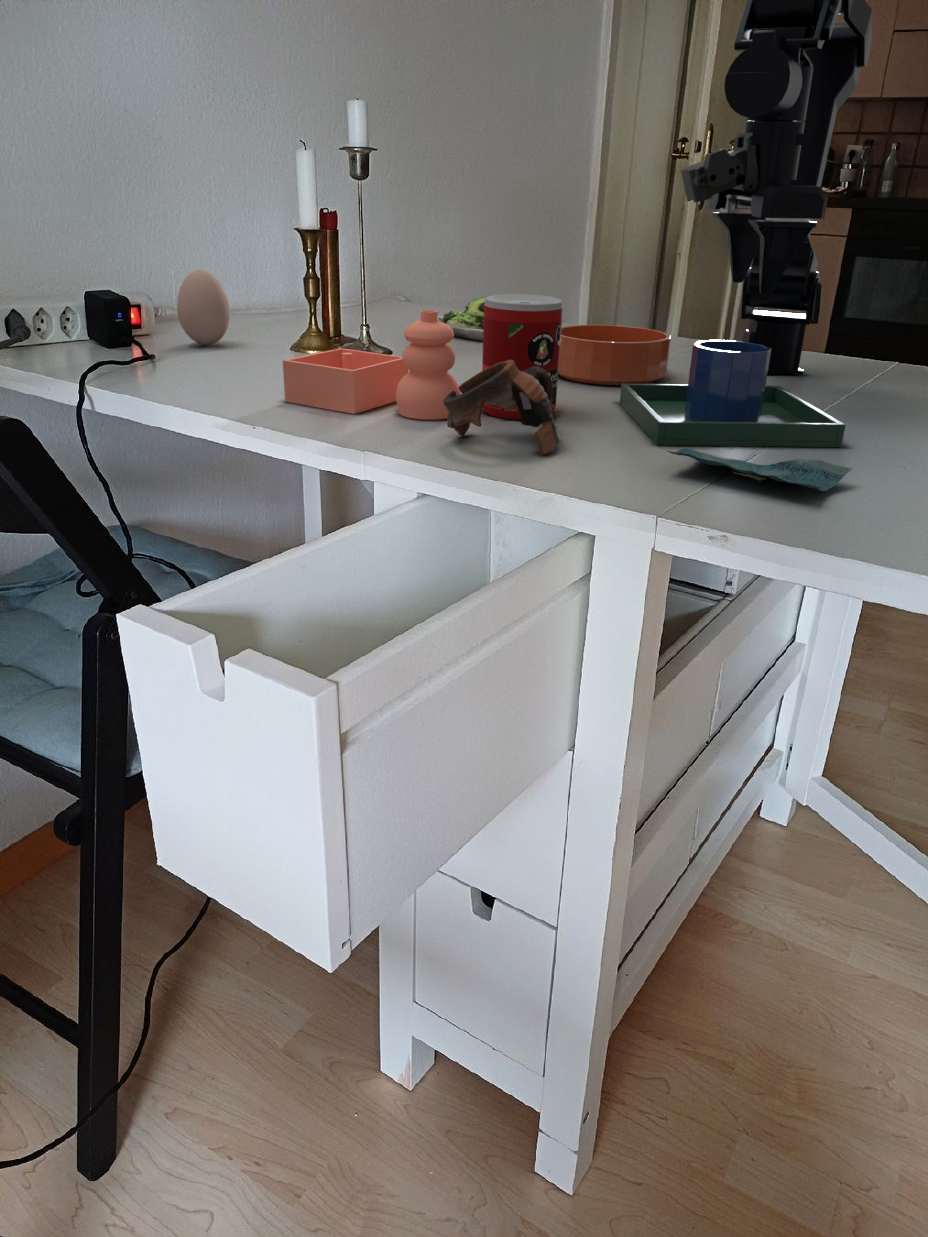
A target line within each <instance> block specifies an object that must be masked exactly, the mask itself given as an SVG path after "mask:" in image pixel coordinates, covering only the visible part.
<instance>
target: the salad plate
mask: <svg viewBox="0 0 928 1237" xmlns="http://www.w3.org/2000/svg"><path fill="white" fill-rule="evenodd" d="M488 296H489V295H487V296H486V295H485V296H481V297H477V298H474V299H473V300H470V301H469V302H468V303H467V304H466V305H465V306H464V307H465V309H464V311H461V312H460V311H456V312H455V310H450V311H449V312H447V313H444V314H443V315H437V321H439V322H442V323H445V324H447V325H448V326H450V327H451V328H452V329H453V333H454V337H456V338H462V339H467V340H468V339H469V340H474V341H482V342H483V324H484V304H485V298H486V297H488Z"/></svg>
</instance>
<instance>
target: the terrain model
mask: <svg viewBox="0 0 928 1237" xmlns="http://www.w3.org/2000/svg"><path fill="white" fill-rule="evenodd" d="M666 452H667V453H670V454H672V455H676V456H683V457H689V458H691V459H694V460H696V461H698V462H700V463H703V464H704V465H709V466H717V467H726V468H729V469H731V473H733V474H736V475H739V476H743V477H746V478H747V477H749V478H751V479H755V480H756V481H760V482H761V481H762V480H767V479H768V478H769V479H772V480H773V481H775V482H780V483H787V484H793V485H799V486H801V487H806V488H810V489H815V490H819V491H821V492H827V491H829V490H830V489H831V488H833V487H835V486H836V485H837V484H838V483H839V482H840V481H841V480H843V478H844V477H846V475H848V473H850V472H851V471H852V470H853V469H854V468H853V467H847V466H843V465H838V464H835V463H830V462H827V461H825V460H822V459H814V458H799V459H791V460H785V461H779V462H775V463H772V464H766V465H759V464H755V463H751V462H749V461H745V460H740V459H734V458H725V459H724V458H720V457H718V456H713V455H711V454H709V453H705V452H702V451H698V450H695V449H694V448H693V449H692V448H690V447H689V448H688V447H685V448H680V449H678V450H676V451H670V450H666Z"/></svg>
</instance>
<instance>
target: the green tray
mask: <svg viewBox="0 0 928 1237" xmlns="http://www.w3.org/2000/svg"><path fill="white" fill-rule="evenodd" d="M687 389H688V384H682V383H681V384H675V383H671V384H670V383H646V384H621V385H620V394H619V404H620V406H622V407H623V409H624V410H625V411H626V413H628V414H629V416H631V418H632V419H633V420H634V421H635V422H636V423H637V425H638V426H639V427H640V428H641V429H642V430H643V431H644V433H645V434H646V435H647V436H648V437H649V438H650V439H651V440H652V441H653V443H654V444H655V445H656V446H697V447H703V446H704V447H705V446H708V447H779V448H780V447H783V448H785V447H787V448H788V447H792V448H793V447H795V448H797V447H798V448H842V445H843V441H844V436H845V430H846V424H845V423H844V422H842V421H840V420H838V419H837V418H835V417H833V416H831V415H830V414H829V413H826V412H824V411H823V410H821V409H820V408H818V407H817V406H814V405H813V404H811V403H809V402H808V401H807V400H804V399H803V398H801V397H799V396H798V395H796V394H794V393H792V392H790V390H789V391H788V389H786V388H784V387H782V386H780V385H765V392H764V398H763V404H762V410H761V416H760V417H759V422H702V421H691V420H689V419H688V418H686V416H685V414H686V411H685V405H686V397H687Z"/></svg>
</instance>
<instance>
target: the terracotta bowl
mask: <svg viewBox="0 0 928 1237" xmlns="http://www.w3.org/2000/svg"><path fill="white" fill-rule="evenodd" d="M671 341H672V335H671V334H669V333H667V332H665V331H661V330H658V329H653V328H647V327H639V326H630V325H617V324H616V325H615V324H576V325H575V324H574V325H565V326H561V340H560V354H559V368H558V376H560V377H562V378H564V379H566V380H569V381H572V382H573V381H574V382H578V383H583V384H592V385H601V386H621V384H652V383H654V382H656V381H657V380H659V379H662V378H665V377H666V376H667V373H668V367H669V360H670V359H669V358H670V348H671Z"/></svg>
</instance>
